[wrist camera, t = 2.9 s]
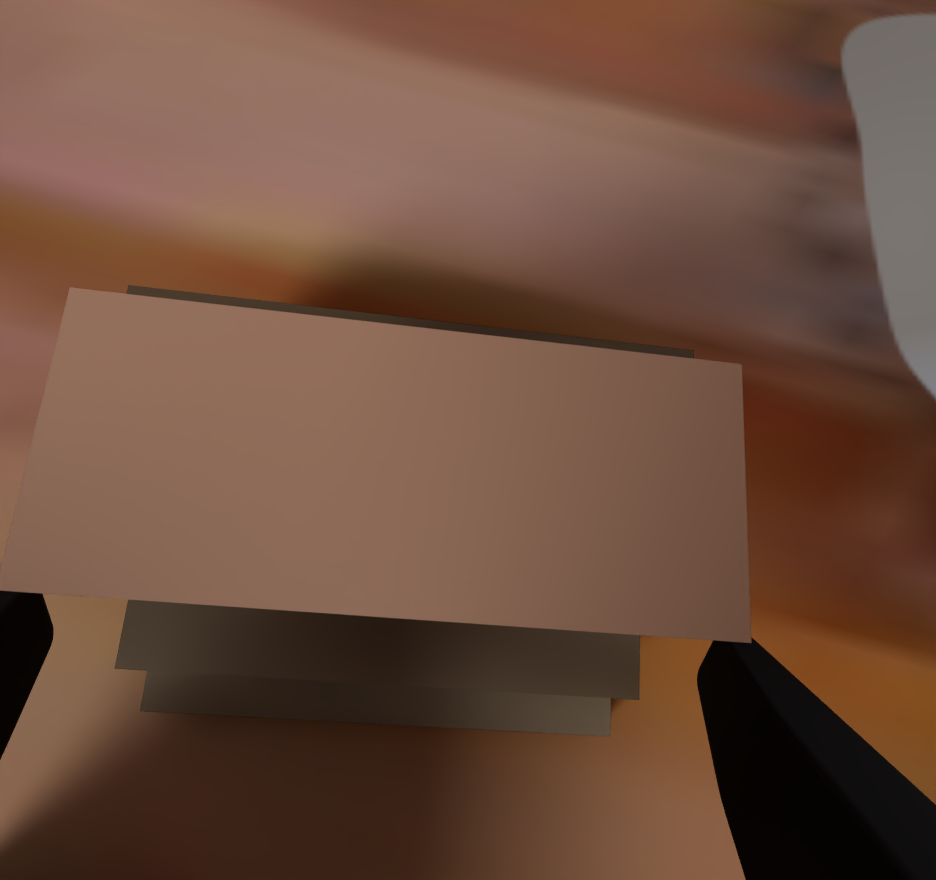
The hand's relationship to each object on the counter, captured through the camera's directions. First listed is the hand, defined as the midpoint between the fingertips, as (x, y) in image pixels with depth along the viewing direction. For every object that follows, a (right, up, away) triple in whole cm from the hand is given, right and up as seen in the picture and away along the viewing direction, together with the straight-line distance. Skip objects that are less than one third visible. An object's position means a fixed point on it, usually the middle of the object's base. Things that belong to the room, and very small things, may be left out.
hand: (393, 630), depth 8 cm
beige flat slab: (-1, 0, +9) cm, 9 cm away
